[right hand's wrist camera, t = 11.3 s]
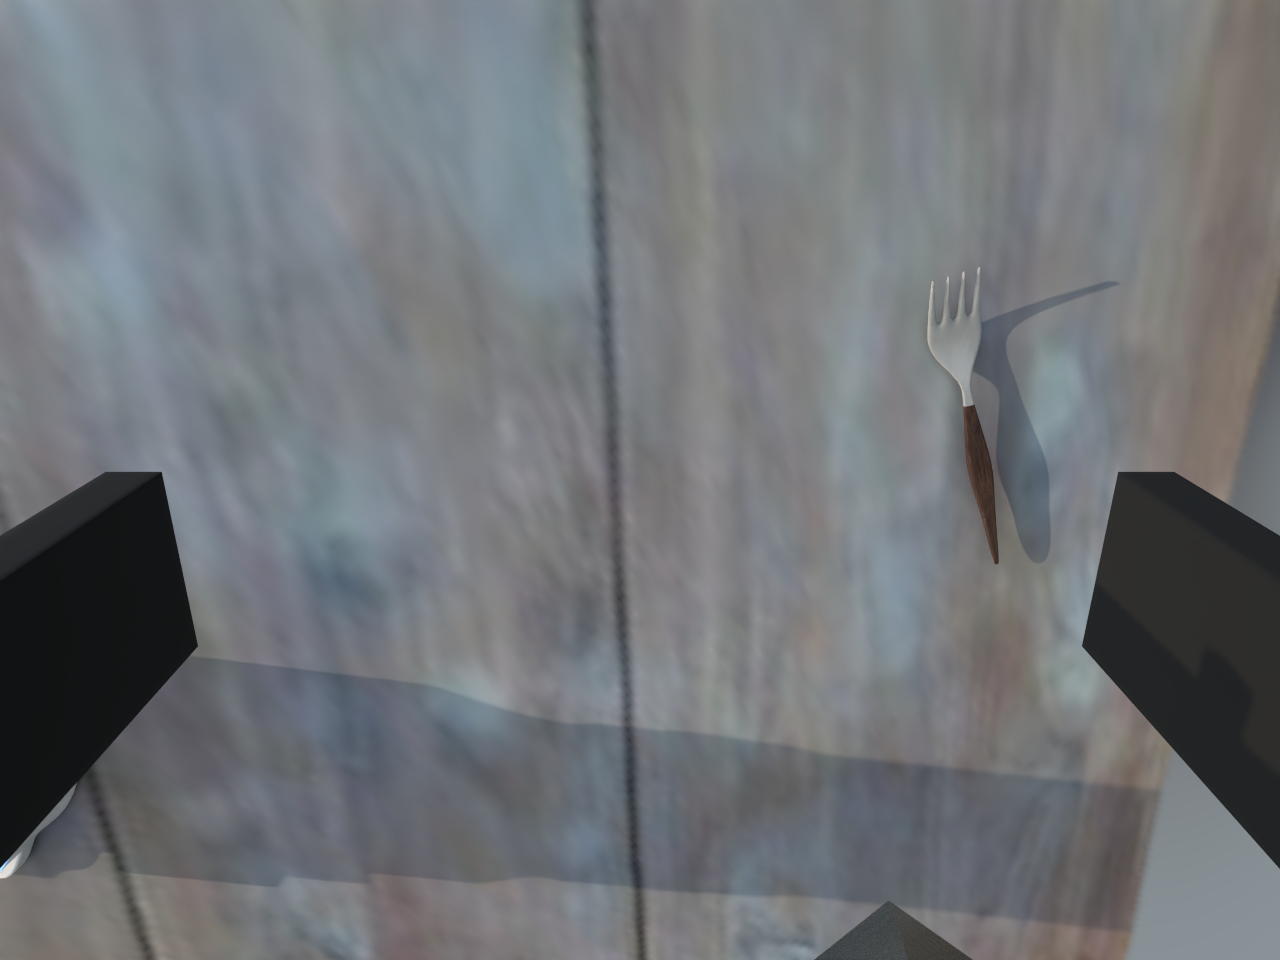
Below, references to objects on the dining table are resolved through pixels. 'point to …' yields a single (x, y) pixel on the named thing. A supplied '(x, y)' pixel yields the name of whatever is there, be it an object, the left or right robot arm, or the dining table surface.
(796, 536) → the dining table surface
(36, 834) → the left robot arm
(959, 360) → the fork
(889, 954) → the bar
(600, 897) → the dining table surface
